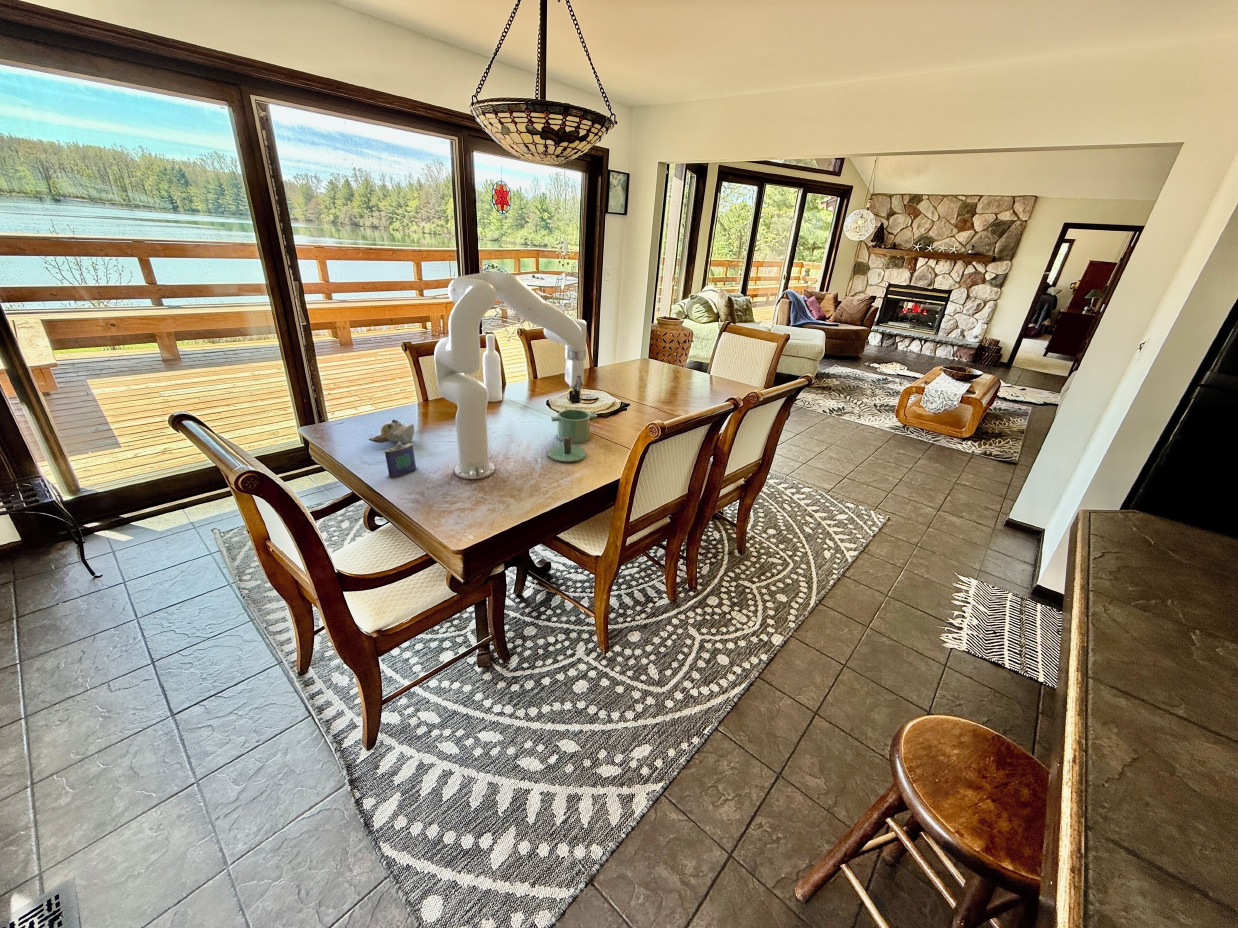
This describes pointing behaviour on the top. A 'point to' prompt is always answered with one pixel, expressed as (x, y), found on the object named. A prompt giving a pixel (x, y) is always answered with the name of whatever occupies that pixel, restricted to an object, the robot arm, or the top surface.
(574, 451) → the lid
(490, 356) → the bottle
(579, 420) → the pot
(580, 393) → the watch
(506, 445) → the top surface
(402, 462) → the flask
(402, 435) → the ceramic sculpture
